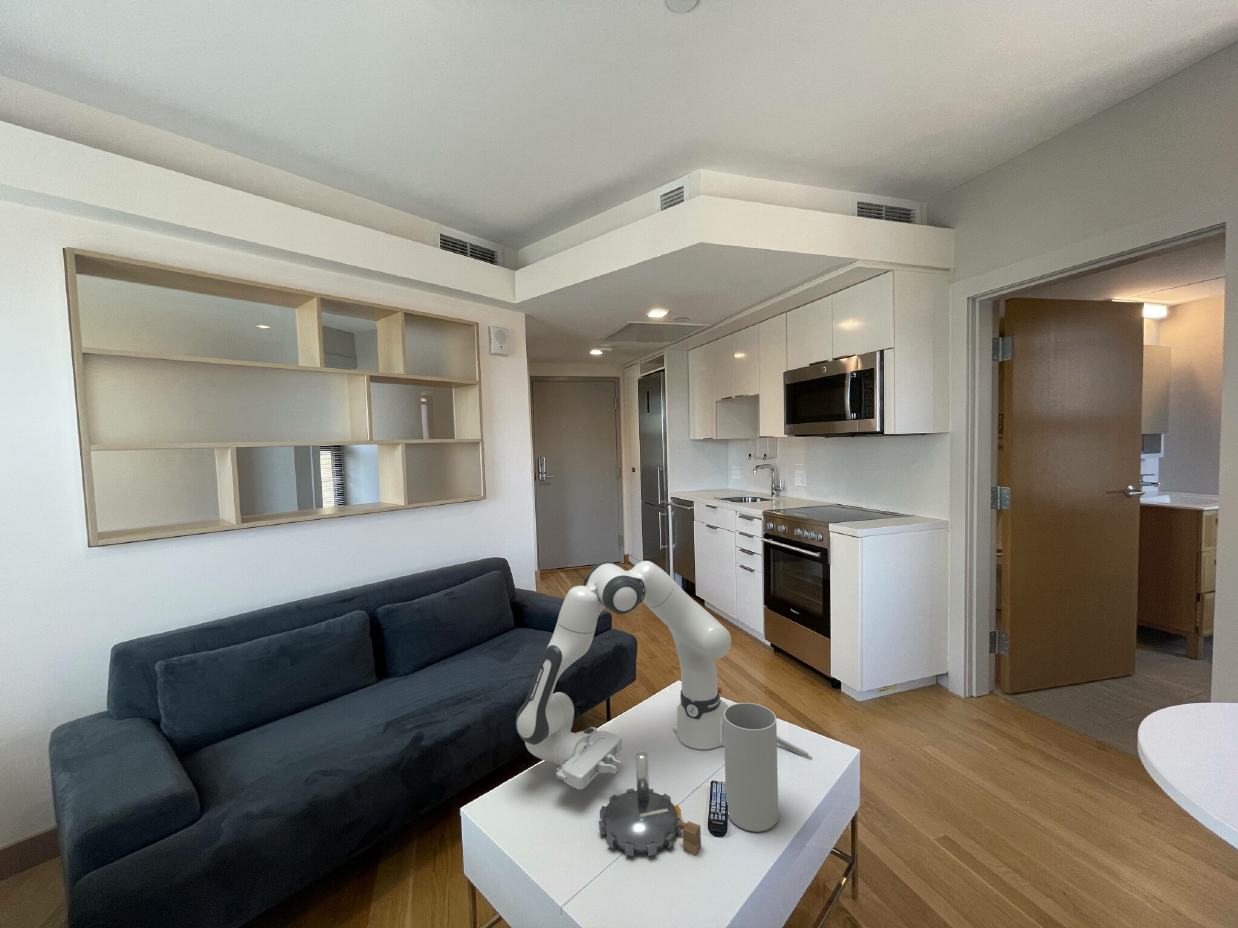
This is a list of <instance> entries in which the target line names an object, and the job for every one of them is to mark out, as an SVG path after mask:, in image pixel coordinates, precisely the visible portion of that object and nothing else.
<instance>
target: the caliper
mask: <svg viewBox="0 0 1238 928" xmlns="http://www.w3.org/2000/svg"><path fill="white" fill-rule="evenodd" d="M777 745H779V746H782V747H784V748H786V749H787V750H788V751H791V752H792V753H793V754H795V755H798V756H800V757H802V758H804V759H808V760H810V761H811V760H813V757H812V756H811V755H810V754H809V752H807V751H805V750H804V749H802V748H799V747H797V746H796V745H794V744H792V743H790V742H789V741H787V740H785V739H783V738H781V737H779V736H777Z"/></svg>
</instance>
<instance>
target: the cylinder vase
mask: <svg viewBox="0 0 1238 928" xmlns="http://www.w3.org/2000/svg"><path fill="white" fill-rule="evenodd" d="M777 734H778V732H777V716H776V714H775V712H774V711H773V710H771V709H770V708H768V707H766V706H763V705H761V704H758V703H752V702H738V703H734V704H731V705H728V707H727V708H726V709H725V711H724V746H723V747H724V749H723V750H724V775H725V776H724V777H725V778H724V779H725V780H724V781H725V785H724V786H725V803H726V802H727V805H728V812H729V817H728V818H729V820H731V822H732V823H733V824H734V825H736V826H737V827H738V828H740V829H743V830H745V831H748V832H756V833H759V832H766V831H768V830H770V829H772V828H773V827H775V825H776V824H777V822H778V820H779V789H778V788H779V783H778V781H779V779H778V777H779V775H778V747H777V746H778V743H777V737H778V736H777Z"/></svg>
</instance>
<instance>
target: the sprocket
mask: <svg viewBox="0 0 1238 928" xmlns="http://www.w3.org/2000/svg"><path fill="white" fill-rule="evenodd" d="M635 764H636V765H635V766H636V767H635V768H636V769H635V770H636V771H635V772H636V790H635V788H628V789H626V790H625V792H624V793H621V794H619V795H617V794H613V795H612V796H610V797H609V799H608V800H609V802H608V803H607V805H606V806H605V805H602V806H601V808H600V809H599V819H601V820H599V821H598V830H599V834H600V835H605V836H606V844H607V845H608V846H609V847H610V848H611V849H615V848H616V847H617V848H618V849H621V850H623V851H624V855H625V856H631V857H634V856H635V853H637V854H638V853H639V854H640V853H641V854H644V853H645V854H646V853H647V856H648V857H649V856H655V855H657V854H658V850H661V849H662V848H663V847H664V848H665V847H667V848H668V849H669V848H671V847H672V846H674V844H676V841H675V836H676V834H682V832H683V830H681V829H678V823H679V821H682V822H683V820H682V819H680V818H682V811H681V808H680V806H679V805H678V804H676V805H674V804H673V802H672V797H671V796H670V795H668V794H666V793H663V794H659V793H658V792H654V788H650V785H649V784H650V782H649V776H650V775H649V755H648V752H646V751H639V752H636V754H635Z"/></svg>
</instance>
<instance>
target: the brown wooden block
mask: <svg viewBox="0 0 1238 928" xmlns="http://www.w3.org/2000/svg"><path fill="white" fill-rule="evenodd" d="M678 829H681V830H682V841H683V842H682V844H683V845H682V846H683V847H682V848H683V849H682V850H683V851H684V852H686V853H688V854H691V855H692V856H697V855H698V853H699V851H700V849H701V847H702V836H701V835H702V833H701V825H700V824H697V823H695V822H692V821H690V820H688V821H687V822H685V821H683V820H682V821H679V823H678Z"/></svg>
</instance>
